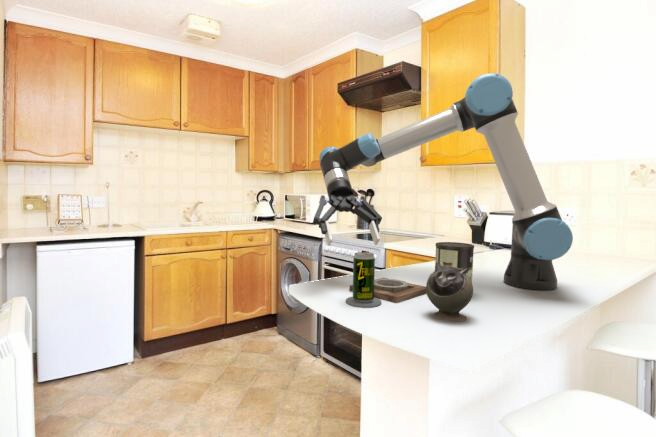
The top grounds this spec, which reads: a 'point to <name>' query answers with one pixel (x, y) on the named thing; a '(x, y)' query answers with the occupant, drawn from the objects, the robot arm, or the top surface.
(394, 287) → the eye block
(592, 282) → the top surface
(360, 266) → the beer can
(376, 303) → the coaster
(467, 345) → the top surface
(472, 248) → the coffee can
